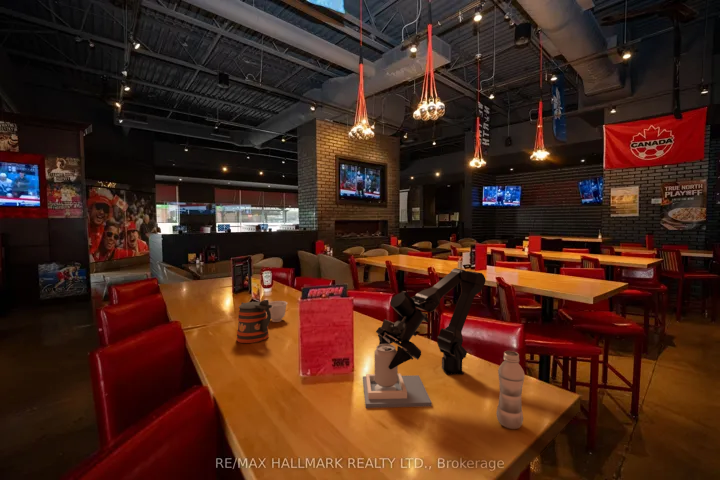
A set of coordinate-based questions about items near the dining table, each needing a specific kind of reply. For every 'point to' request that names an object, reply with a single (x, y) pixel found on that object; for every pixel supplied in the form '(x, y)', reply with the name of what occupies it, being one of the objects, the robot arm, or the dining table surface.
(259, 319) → the beer stein
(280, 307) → the teacup
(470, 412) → the dining table surface
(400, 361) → the robot arm
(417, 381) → the base board
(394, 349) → the can
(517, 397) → the plastic bottle
